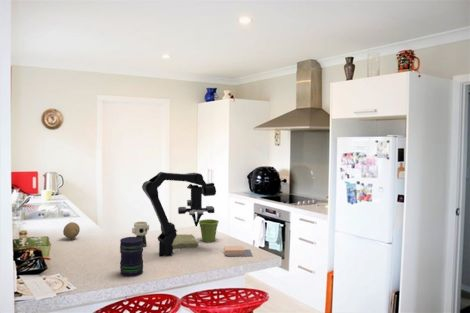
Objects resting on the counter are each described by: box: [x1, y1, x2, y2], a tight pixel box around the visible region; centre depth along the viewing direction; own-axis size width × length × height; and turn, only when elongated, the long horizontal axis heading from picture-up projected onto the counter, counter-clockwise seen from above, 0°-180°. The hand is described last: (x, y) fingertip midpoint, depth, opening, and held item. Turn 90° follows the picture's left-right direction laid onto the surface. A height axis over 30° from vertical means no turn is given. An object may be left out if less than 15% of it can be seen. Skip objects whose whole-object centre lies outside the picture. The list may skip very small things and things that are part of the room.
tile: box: [223, 245, 246, 256], centre depth 205 cm, size 2×8×10 cm
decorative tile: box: [172, 233, 199, 250], centre depth 223 cm, size 19×20×4 cm
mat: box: [226, 249, 254, 258], centre depth 206 cm, size 13×11×1 cm
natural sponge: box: [62, 221, 81, 240], centre depth 230 cm, size 9×9×10 cm
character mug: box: [131, 221, 150, 247], centre depth 217 cm, size 11×7×13 cm, turn 139°
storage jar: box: [119, 236, 144, 278], centre depth 175 cm, size 10×10×15 cm
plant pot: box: [198, 218, 219, 243], centre depth 230 cm, size 12×12×11 cm
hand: (196, 226), depth 210 cm, fingers closed
